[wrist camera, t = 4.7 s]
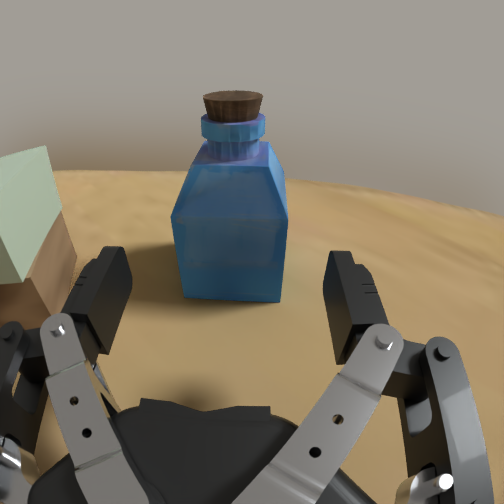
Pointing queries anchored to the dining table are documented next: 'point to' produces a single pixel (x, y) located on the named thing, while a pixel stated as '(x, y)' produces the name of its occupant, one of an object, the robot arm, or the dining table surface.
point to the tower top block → (25, 210)
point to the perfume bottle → (232, 207)
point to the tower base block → (41, 281)
